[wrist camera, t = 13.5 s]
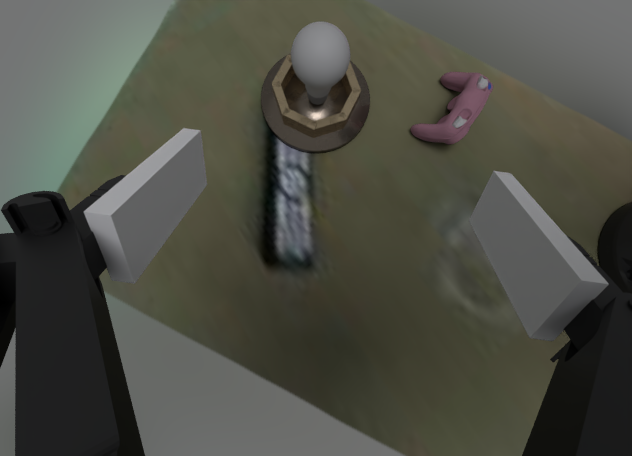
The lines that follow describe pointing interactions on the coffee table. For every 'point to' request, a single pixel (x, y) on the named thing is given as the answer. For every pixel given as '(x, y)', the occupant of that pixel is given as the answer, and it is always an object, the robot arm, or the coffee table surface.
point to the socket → (314, 109)
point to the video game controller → (457, 108)
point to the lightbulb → (320, 58)
